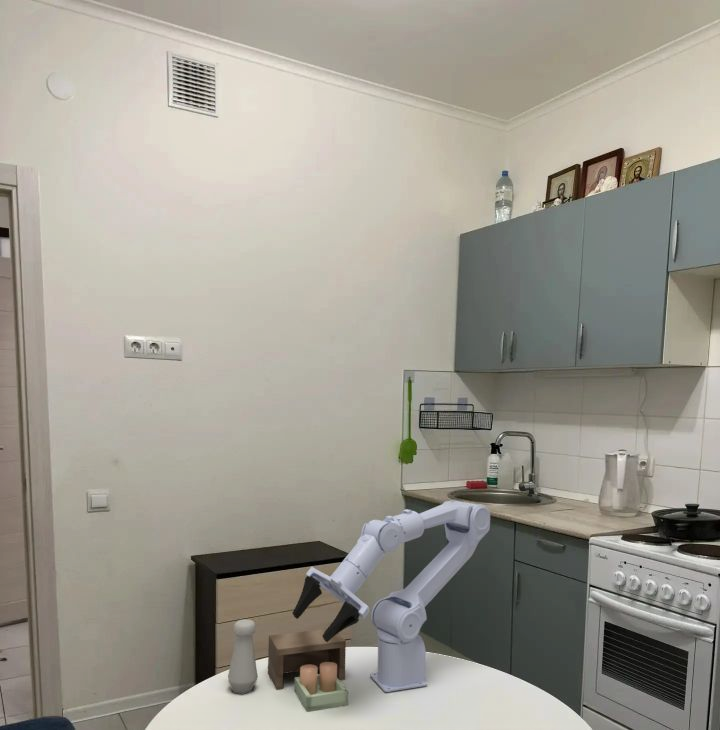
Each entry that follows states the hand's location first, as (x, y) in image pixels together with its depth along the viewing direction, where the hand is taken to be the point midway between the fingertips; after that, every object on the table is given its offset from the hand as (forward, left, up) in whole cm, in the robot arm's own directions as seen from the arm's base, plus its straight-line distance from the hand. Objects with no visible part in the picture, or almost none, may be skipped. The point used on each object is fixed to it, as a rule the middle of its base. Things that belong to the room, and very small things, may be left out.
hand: (309, 627), depth 112 cm
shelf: (-4, -14, -15) cm, 21 cm away
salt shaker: (+10, -13, -15) cm, 22 cm away
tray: (-4, -4, -15) cm, 16 cm away
